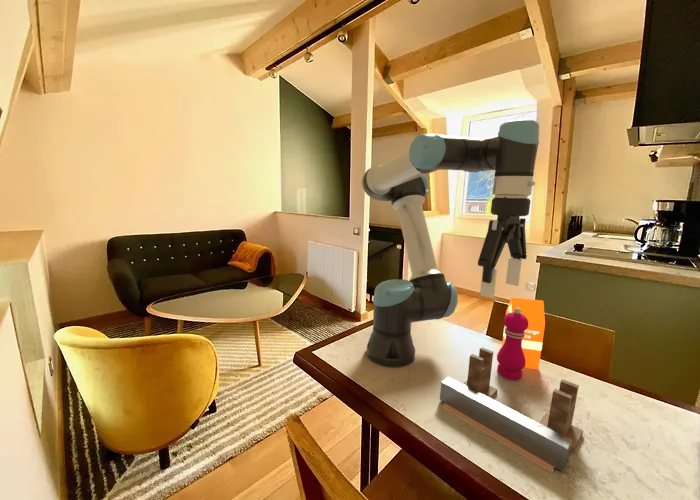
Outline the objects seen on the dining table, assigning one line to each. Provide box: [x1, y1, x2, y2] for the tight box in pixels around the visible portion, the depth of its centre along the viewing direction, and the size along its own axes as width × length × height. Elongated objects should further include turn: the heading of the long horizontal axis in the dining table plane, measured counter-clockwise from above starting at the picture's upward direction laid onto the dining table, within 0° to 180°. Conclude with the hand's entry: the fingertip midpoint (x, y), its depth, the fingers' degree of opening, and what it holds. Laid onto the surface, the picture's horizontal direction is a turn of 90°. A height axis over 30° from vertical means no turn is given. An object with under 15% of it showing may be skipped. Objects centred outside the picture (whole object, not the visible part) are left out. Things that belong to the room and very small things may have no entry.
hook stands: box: [462, 347, 584, 454], centre depth 72 cm, size 25×7×11 cm, turn 42°
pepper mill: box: [496, 308, 528, 381], centre depth 86 cm, size 7×7×20 cm
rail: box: [439, 376, 572, 473], centre depth 67 cm, size 26×3×5 cm, turn 42°
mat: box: [441, 403, 555, 474], centre depth 67 cm, size 23×6×1 cm, turn 42°
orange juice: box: [501, 297, 546, 370], centre depth 93 cm, size 8×9×20 cm
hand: (500, 290), depth 71 cm, fingers open, 13 cm apart
